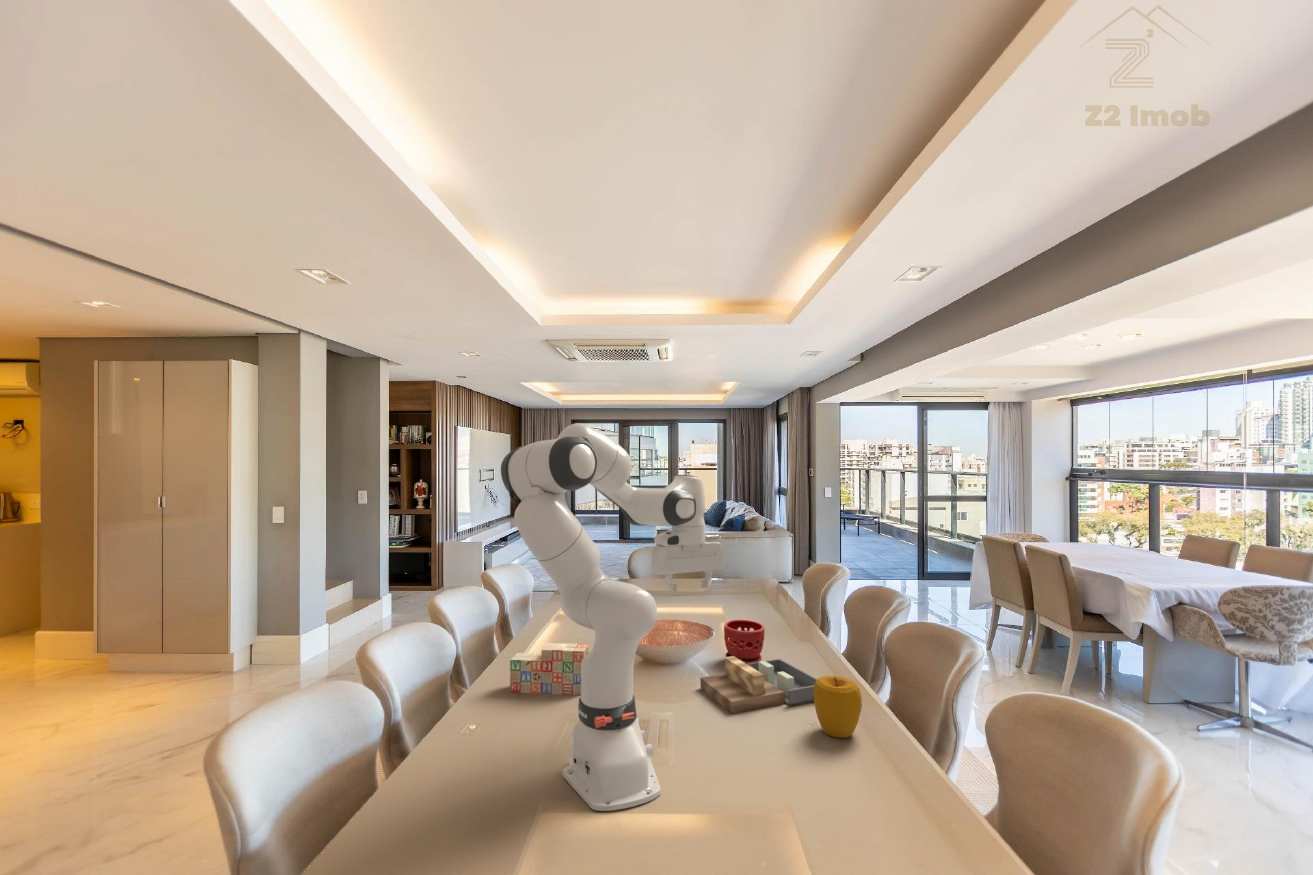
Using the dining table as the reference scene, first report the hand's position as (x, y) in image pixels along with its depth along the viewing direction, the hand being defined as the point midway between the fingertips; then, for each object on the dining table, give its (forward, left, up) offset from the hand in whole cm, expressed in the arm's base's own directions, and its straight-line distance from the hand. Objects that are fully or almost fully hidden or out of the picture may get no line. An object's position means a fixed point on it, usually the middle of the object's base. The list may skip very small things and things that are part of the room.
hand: (689, 589), depth 146 cm
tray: (+3, -31, -31) cm, 44 cm away
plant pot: (+26, -32, -31) cm, 52 cm away
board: (+3, -17, -31) cm, 36 cm away
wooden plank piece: (+3, -18, -28) cm, 33 cm away
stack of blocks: (+28, +31, -32) cm, 52 cm away
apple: (-25, -27, -31) cm, 48 cm away
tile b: (+8, -27, -28) cm, 40 cm away
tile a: (-2, -27, -28) cm, 39 cm away
